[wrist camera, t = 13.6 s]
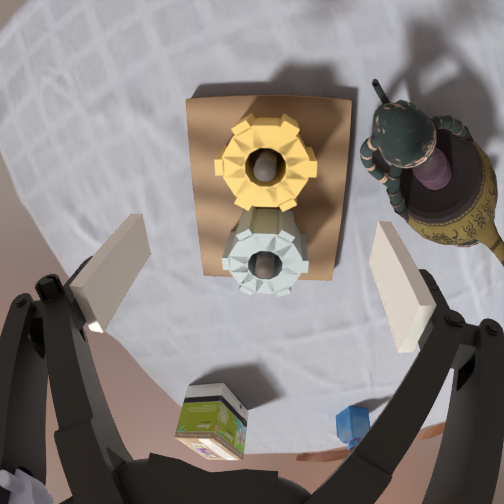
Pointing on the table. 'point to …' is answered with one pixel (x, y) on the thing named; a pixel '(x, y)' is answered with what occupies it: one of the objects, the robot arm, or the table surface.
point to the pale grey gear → (266, 239)
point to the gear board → (311, 197)
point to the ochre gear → (287, 173)
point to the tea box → (213, 422)
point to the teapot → (434, 175)
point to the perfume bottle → (352, 425)
